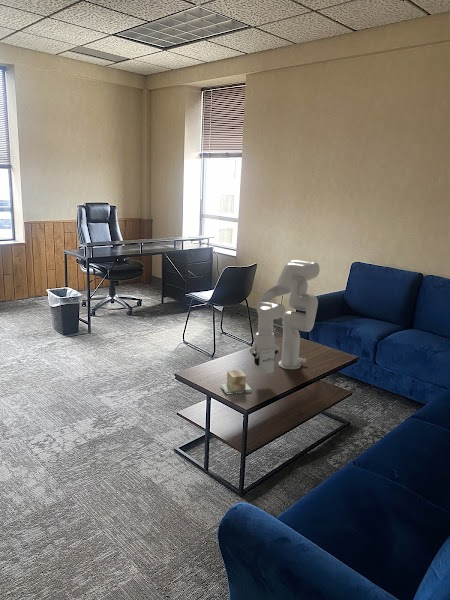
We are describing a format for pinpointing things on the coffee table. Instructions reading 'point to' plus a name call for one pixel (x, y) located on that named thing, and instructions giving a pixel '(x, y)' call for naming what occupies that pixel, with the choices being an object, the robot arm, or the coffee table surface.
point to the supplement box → (266, 361)
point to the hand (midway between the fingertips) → (264, 363)
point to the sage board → (228, 390)
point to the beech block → (236, 380)
